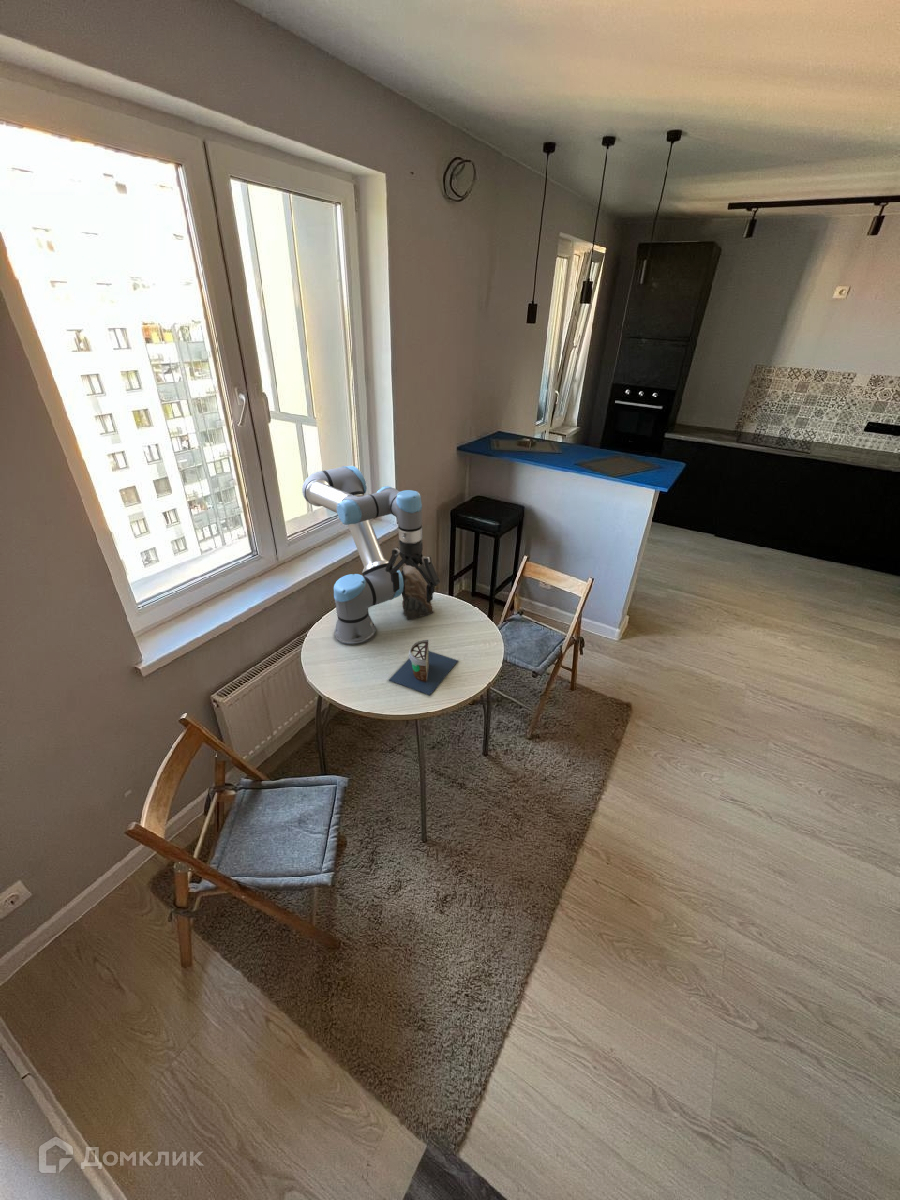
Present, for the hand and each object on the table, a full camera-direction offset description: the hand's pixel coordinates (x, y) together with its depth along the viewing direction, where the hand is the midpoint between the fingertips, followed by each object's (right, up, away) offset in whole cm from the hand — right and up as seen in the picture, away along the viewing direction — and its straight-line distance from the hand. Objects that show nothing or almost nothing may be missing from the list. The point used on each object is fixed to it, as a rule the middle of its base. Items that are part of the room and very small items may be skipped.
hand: (412, 595), depth 169 cm
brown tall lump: (-1, -7, +34) cm, 35 cm away
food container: (+2, -27, 0) cm, 27 cm away
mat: (+4, -26, +2) cm, 26 cm away
